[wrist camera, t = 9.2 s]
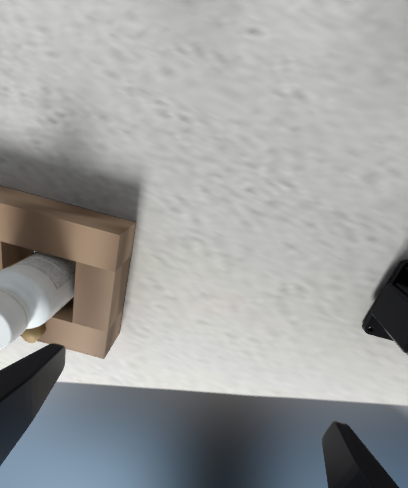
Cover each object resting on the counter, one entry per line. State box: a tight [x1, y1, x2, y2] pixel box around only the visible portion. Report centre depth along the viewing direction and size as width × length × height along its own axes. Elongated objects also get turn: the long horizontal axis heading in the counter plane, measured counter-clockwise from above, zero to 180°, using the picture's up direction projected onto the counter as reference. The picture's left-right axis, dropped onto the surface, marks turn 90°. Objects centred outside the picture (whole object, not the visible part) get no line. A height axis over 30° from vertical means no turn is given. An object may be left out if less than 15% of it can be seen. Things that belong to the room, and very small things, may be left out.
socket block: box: [0, 186, 136, 359], centre depth 19 cm, size 11×11×4 cm
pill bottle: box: [0, 251, 76, 349], centre depth 18 cm, size 4×4×8 cm
